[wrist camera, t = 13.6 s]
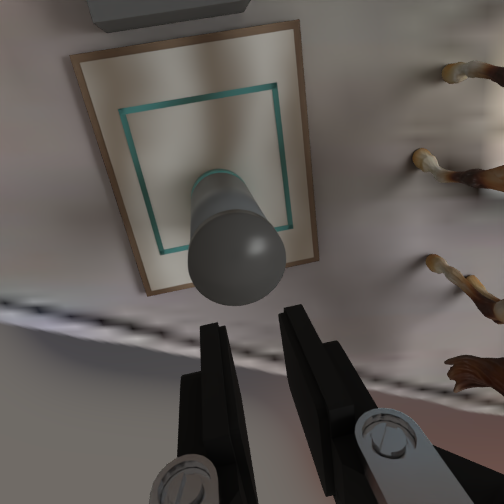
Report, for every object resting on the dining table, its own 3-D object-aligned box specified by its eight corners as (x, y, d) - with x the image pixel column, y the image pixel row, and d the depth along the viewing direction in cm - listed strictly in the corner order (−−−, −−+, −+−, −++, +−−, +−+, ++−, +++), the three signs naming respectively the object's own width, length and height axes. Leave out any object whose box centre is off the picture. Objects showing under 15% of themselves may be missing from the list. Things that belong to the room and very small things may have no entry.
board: (296, 21, 24) (300, 18, 24) (316, 257, 32) (320, 261, 31) (73, 56, 23) (68, 55, 22) (148, 291, 31) (147, 297, 30)
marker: (244, 162, 27) (280, 206, 16) (253, 219, 29) (291, 294, 18) (183, 173, 26) (176, 227, 15) (196, 231, 28) (199, 314, 17)
